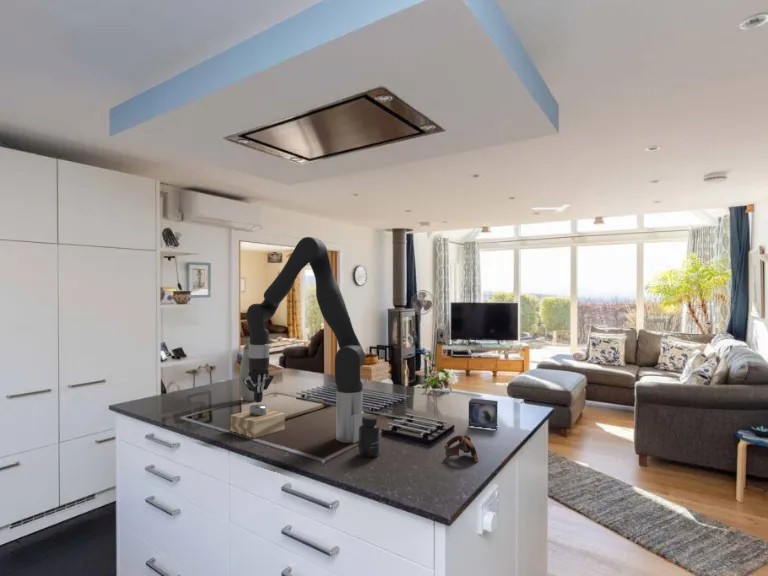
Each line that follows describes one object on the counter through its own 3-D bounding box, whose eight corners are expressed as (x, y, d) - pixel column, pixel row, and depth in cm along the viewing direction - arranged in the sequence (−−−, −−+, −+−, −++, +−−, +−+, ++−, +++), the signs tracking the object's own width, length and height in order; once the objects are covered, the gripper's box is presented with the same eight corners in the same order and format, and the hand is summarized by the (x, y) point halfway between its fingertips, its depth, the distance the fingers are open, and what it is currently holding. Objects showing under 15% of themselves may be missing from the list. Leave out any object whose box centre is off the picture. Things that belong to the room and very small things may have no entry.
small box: (467, 428, 168) (467, 401, 168) (471, 424, 174) (471, 397, 174) (495, 431, 164) (495, 404, 164) (497, 427, 170) (497, 400, 170)
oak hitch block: (284, 429, 165) (284, 413, 165) (254, 438, 153) (254, 421, 153) (260, 422, 173) (261, 407, 173) (230, 431, 161) (230, 415, 162)
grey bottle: (235, 401, 208) (236, 343, 209) (252, 397, 217) (253, 341, 217) (248, 404, 203) (249, 344, 203) (265, 400, 211) (266, 342, 212)
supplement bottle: (376, 459, 135) (377, 420, 135) (355, 457, 136) (356, 419, 136) (381, 451, 141) (381, 414, 142) (361, 450, 143) (361, 413, 143)
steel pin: (269, 428, 164) (269, 406, 164) (256, 432, 159) (256, 409, 159) (258, 425, 167) (259, 403, 167) (245, 429, 162) (246, 406, 162)
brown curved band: (477, 468, 129) (464, 445, 129) (451, 476, 133) (437, 454, 133) (483, 446, 140) (471, 424, 140) (458, 454, 144) (446, 433, 144)
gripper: (250, 358, 156) (249, 407, 156) (279, 355, 167) (278, 400, 166) (238, 357, 160) (237, 403, 160) (266, 353, 171) (265, 397, 171)
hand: (258, 402), depth 163 cm, fingers closed
